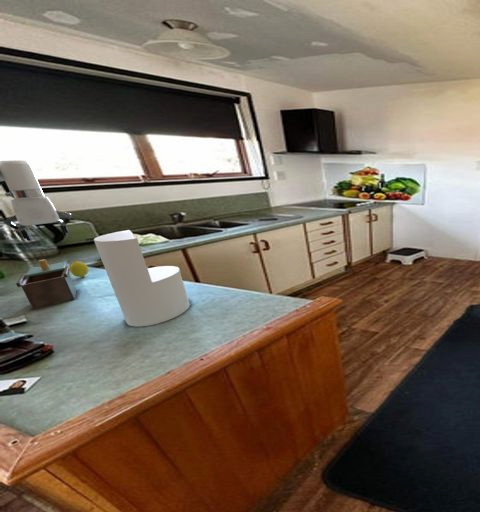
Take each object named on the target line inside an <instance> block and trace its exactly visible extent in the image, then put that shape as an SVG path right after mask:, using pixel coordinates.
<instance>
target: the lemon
mask: <svg viewBox="0 0 480 512" xmlns="http://www.w3.org/2000/svg"><path fill="white" fill-rule="evenodd" d="M69 269H70V270H69V272H70V273H71V275H73V276H74V277H77V278H78V277H79V278H84V277H85V276H86V275H87V274H88V273H89V268H88V265H87V264H86V263H84V262H82V261H77V260H76V261H74V262H72V263H71V264H70V266H69Z"/></svg>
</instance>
